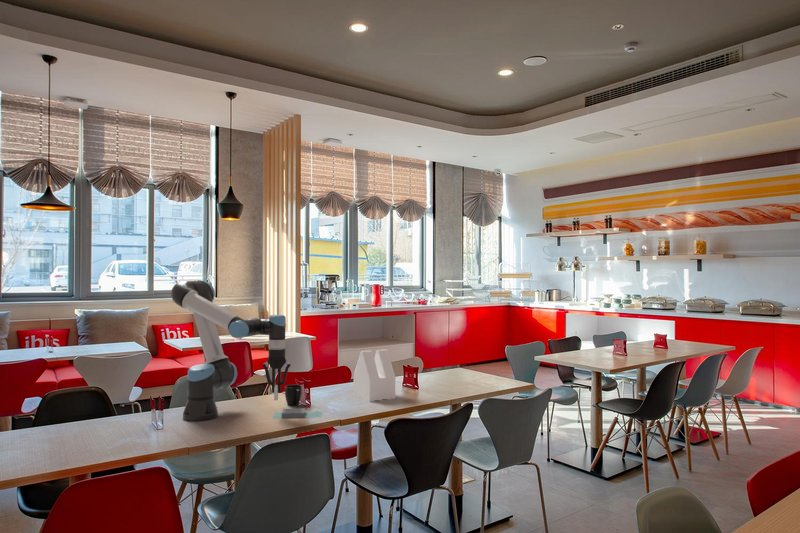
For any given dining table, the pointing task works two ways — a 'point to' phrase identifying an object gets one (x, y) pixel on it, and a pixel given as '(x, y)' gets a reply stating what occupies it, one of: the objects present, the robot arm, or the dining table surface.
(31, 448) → the dining table surface
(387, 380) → the white slotted block
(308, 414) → the mat
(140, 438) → the dining table surface
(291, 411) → the tile
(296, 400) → the mug
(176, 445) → the dining table surface
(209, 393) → the robot arm
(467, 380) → the dining table surface
